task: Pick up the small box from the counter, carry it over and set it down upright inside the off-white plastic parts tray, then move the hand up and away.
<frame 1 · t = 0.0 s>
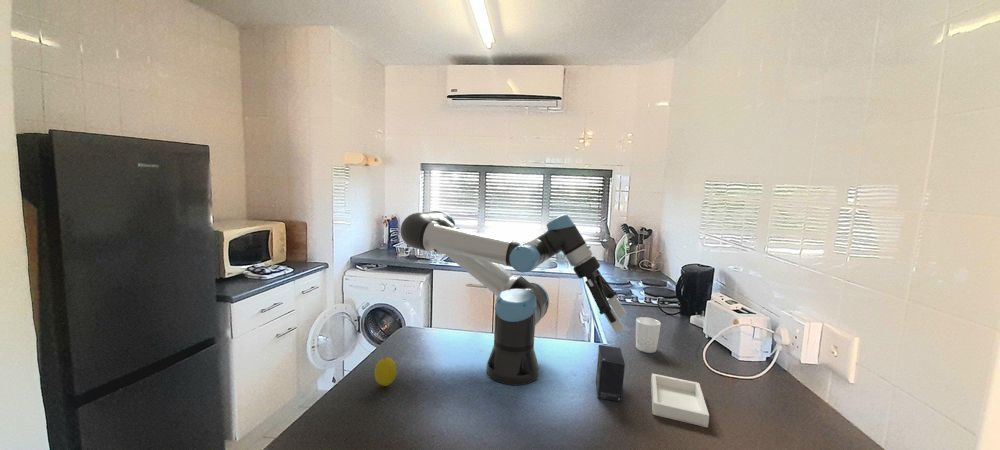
hand: (621, 323, 109), 15 cm above the countertop, tool tilted 35°, fingers open, 13 cm apart
white cup: (645, 349, 129), on the countertop
parts tray: (676, 403, 96), on the countertop
lemon: (385, 387, 98), on the countertop
small box: (608, 390, 101), on the countertop
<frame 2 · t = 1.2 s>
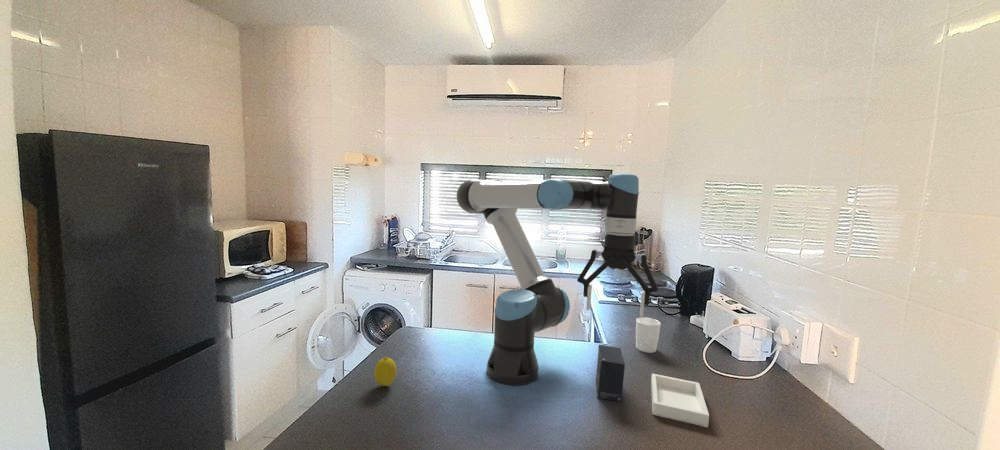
hand: (614, 312, 99), 22 cm above the countertop, tool pointing down, fingers open, 13 cm apart
nothing on the countertop moved.
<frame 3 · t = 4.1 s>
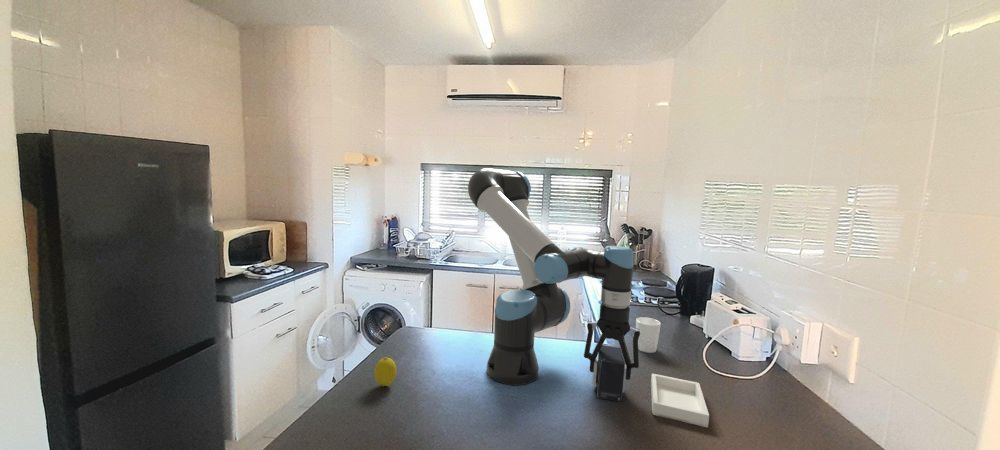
hand: (608, 386, 101), 1 cm above the countertop, tool pointing down, fingers closed on small box, 7 cm apart
small box: (608, 390, 101), on the countertop, touching gripper
everything else where it was.
when the fingers open (3 cm above the countertop, at t = 10.5 s): small box drops 2 cm, resting on parts tray.
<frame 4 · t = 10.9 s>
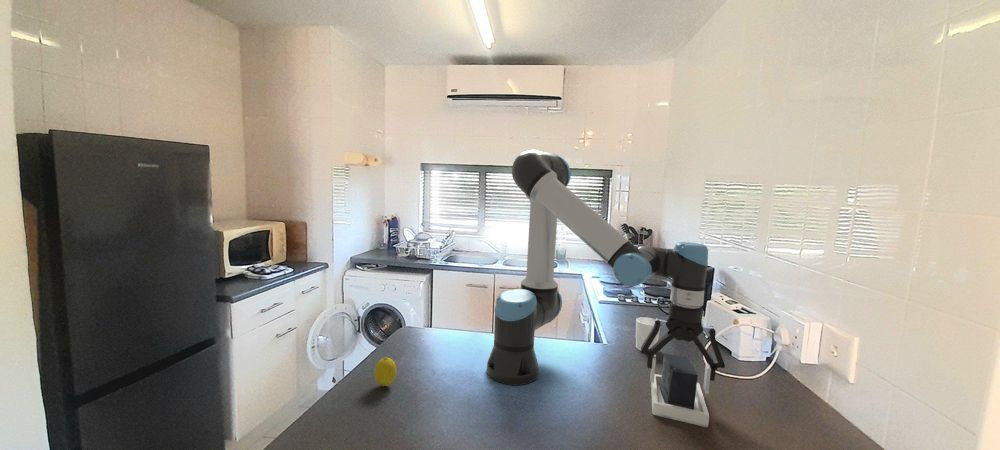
hand: (678, 385, 95), 5 cm above the countertop, tool pointing down, fingers open, 12 cm apart
small box: (676, 402, 96), resting on parts tray
everything else where it was.
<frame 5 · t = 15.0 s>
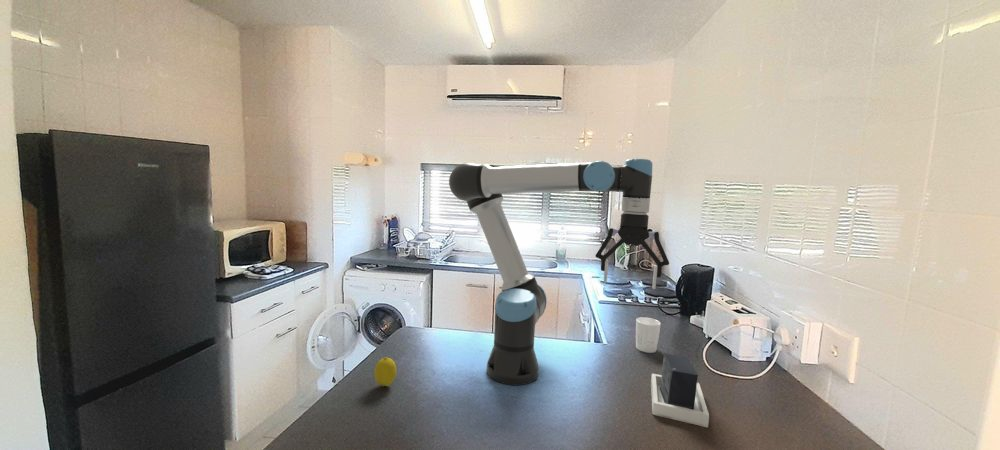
hand: (629, 284, 109), 27 cm above the countertop, tool pointing down, fingers open, 13 cm apart
nothing on the countertop moved.
at the end: small box inside the target area on the parts tray (0.1 cm from its centre), point 0.3 cm above the parts tray's base; small box tilted 0°; the gripper is holding nothing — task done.
